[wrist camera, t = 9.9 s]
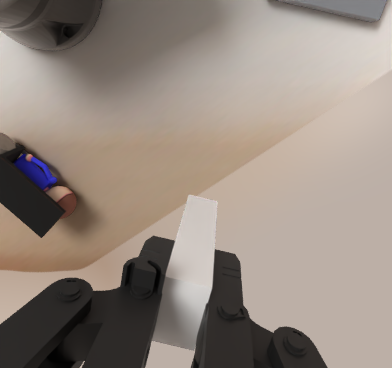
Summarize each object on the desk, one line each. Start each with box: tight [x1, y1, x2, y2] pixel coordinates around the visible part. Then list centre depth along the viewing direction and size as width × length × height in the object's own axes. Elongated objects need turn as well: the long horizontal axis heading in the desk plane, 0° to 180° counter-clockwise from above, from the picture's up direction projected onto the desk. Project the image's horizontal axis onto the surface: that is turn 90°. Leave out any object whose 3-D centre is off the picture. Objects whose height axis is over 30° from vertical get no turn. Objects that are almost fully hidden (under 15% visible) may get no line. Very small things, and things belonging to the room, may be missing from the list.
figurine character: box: [0, 133, 76, 238], centre depth 46 cm, size 7×8×15 cm
